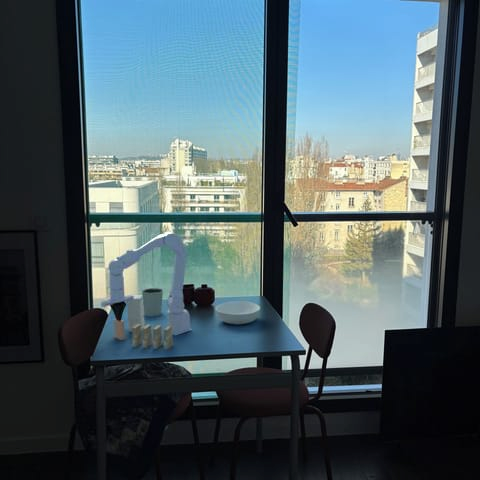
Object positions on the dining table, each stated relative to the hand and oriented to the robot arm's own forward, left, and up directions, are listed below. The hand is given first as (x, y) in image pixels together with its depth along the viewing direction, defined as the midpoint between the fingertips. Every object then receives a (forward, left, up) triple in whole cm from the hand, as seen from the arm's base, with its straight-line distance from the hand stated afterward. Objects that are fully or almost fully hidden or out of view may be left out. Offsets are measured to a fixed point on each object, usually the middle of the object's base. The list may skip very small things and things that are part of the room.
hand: (118, 319), depth 195 cm
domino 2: (-3, +16, -8) cm, 18 cm away
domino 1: (0, +12, -8) cm, 15 cm away
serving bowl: (-49, +23, -8) cm, 55 cm away
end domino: (0, 0, -8) cm, 8 cm away
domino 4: (-7, +24, -8) cm, 26 cm away
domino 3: (-5, +20, -8) cm, 22 cm away
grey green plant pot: (-31, -18, -8) cm, 37 cm away
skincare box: (-12, -5, -8) cm, 16 cm away
